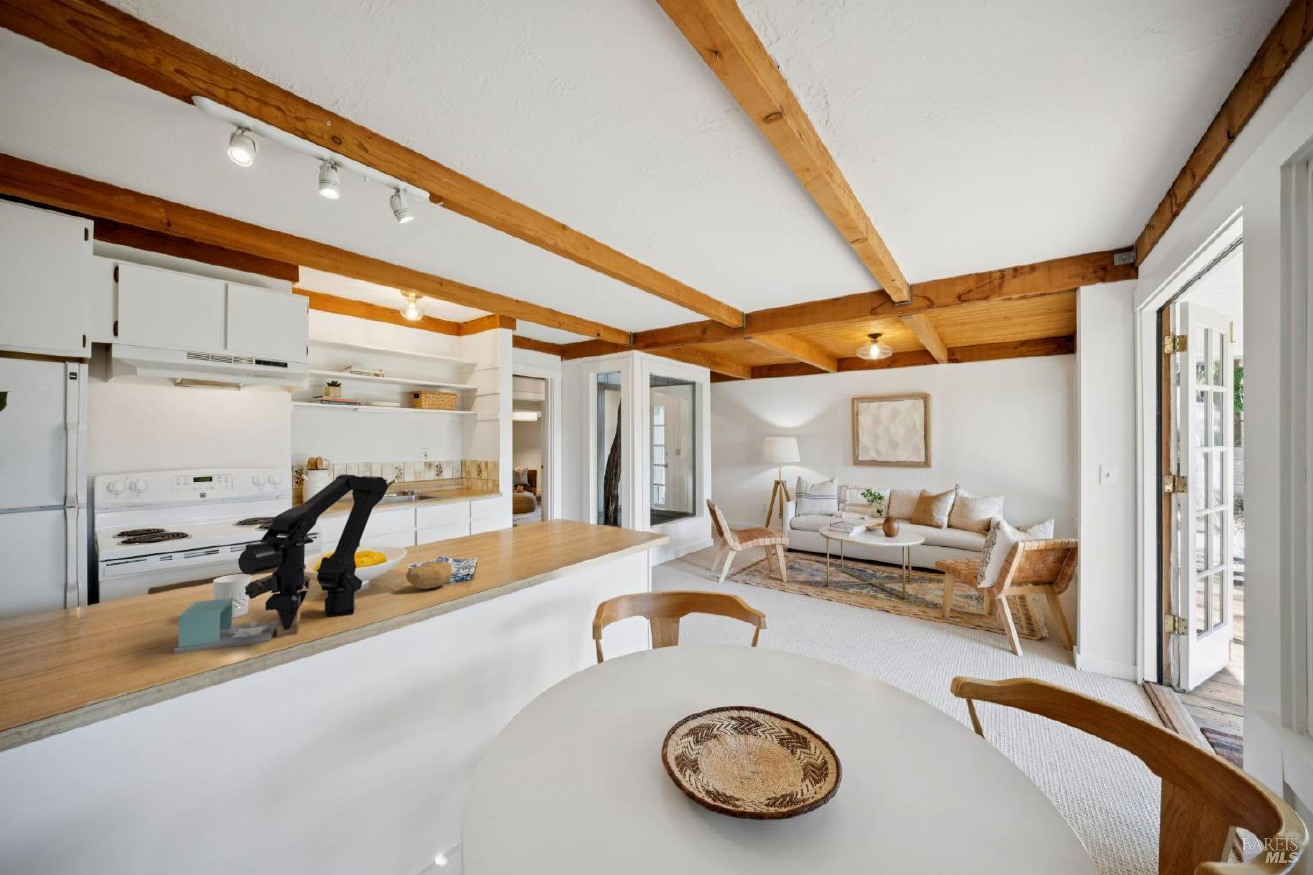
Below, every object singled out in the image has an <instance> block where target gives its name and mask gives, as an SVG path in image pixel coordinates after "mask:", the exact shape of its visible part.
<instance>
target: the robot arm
mask: <svg viewBox="0 0 1313 875" xmlns="http://www.w3.org/2000/svg"><path fill="white" fill-rule="evenodd" d="M388 486H389V485H388V483H387V481H386V479H385V478H384V477H382V476H370V475H369V476H368V475H363V476H357V475H356V474H344V473H342V474H339V475H337V476H336V477H335V479H334V480H332V482H330V483H329V484H328V485H326V486H325V487H323V488H322V489H320V491H318V492H317V493H315V494H314V495H313V496H311V497H310V498H309V499H308V500H306V501H305V502H303V503H301V504H300V505H297V506H294V507H292V508H291V507H290V508H289V509H287V510H284V511H282V513H279V514H278V515H276V516H275V517H274V518H273V519H272V524H271V525H270V527H269V528H268V529H267V531H266V532H265V534H264V535H263V536H262V538H261V539H260V542H258V543H257V542H256V543H248V544H246V545H245V550H243V551H242V552H241V553H240V555H239V558H238V559H237V560H238V561H237V563H238V568H239V569H240V572H242V574H247V575H252V574H256V573H260V572H261V573H262V572H264V571H269V570H273V569H275V570H274V571H273V572H272V573H271V574H270V575H267V576H264V577H262V578H259V579H256V580H253V581H251V582H250V583H249V584H248V585H247V586H246V587H245V590H246V592H245V594H246V595H249V598H250V599H249V600H253V599H256V598H257V597H258V596H261V595H264V594H266V593H269V592H270V593H271V594H272V595H270V596H269V597H268V598H267V600H266V601H265V606H264V607H265V608H264V610H265V611H274V610H275V611H276V612H278V613H279V615H280V618H281V622H282V625H283V628H284V630H289V629H290V627H291V625H292V623H293V620H294V618H295V616H296V614H297V611H298V609H299V607H300V605H301V606H302V605H303V603H304V601H305V598H306V596H307V594H308V592H309V591H308V590H303V589H304V588H306V589H310V587H311V582H312V580H311V578H310V577H309V576H307V575H305V570H306V569H307V565H306V564H305V556H306V555H305V553H306V550H305V549H306V545H308V544H312V543H314V539H312V538H311V537H309V536H308V535H307V534H308V533H309V532H310V531H311V530H312V529H313V528H314V527H315V525H316V524H317V520H318V518H319V517H320V516H321V515H322V514H324V513H325V512H326V511H327V510H328V509H329V508H331V507H332V506H333V505H334V504H336V503H337V502H338V501H339V500H340V499H342V498H343V497H345V496H346V495H347V494H348V493H349V492H350V491H352V495H351V496H352V498H353V505H352V508H351V510H350V511H349V512H350V513H349V515H348V517H347V520H346V523H345V525H344V527H343V530H342V533H341V535H340V537H339V540H338V543H337V546H336V547H335V549H334V552H333V553H332V554H330V556H329V557H326V556H324V557H322V559H321V562H320V564H319V567H318V569H317V570H316V573H317V576H316V580H317V581H318V584H319V586H320V587H321V590H322V591H323V592H327V595H326V596H325V598H324V613H325V618H328V617H337V616H344V615H353V614H354V613H355V610H356V607H357V606H356V604H355V603H356V600H355V599H356V598H355V597H356V592H357V591H359V590H361V588H362V585H363V580H362V579H360V578H359V577H358V576H357V575H356V574H355V573H356V570H357V566H356V565H357V564H356V560H355V556H356V552H357V550H358V547H359V544H360V542H361V539H362V537H363V534H364V531H365V530H366V526H367V524H368V521H369V518H370V516H371V514H372V513H371V512H372V511H373V508H374V507H375V506H376V505H377V504H379V503H380V502H381V501H382V500H383V498H384V497H385V494H387V493H386V492H387V490H388Z"/></svg>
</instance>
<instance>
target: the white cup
mask: <svg viewBox="0 0 1313 875" xmlns="http://www.w3.org/2000/svg"><path fill="white" fill-rule="evenodd" d="M250 582H252V574H249V575H247V574H244V573H240V574H239V573H238V574H230V575H229V574H228V575H224V576H220V577H217V578H215V579H213V581H212V583H213V584H212V585H213V587H212V588H213V589H212V590H213V600H221V599H231V598H233V610H232V619H235V618H240V617H243V616H244V615H246V614H248V613H249V605H250V604H249V603H250V600H251V599H250V598H249V595H246V594H245V592H246V590H245V587H246V586H247V585H248V584H249V583H250Z"/></svg>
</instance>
